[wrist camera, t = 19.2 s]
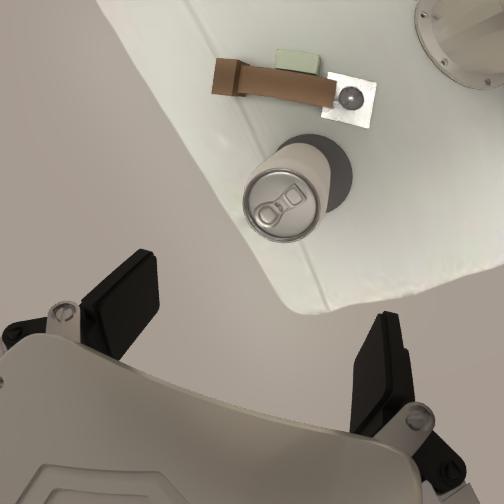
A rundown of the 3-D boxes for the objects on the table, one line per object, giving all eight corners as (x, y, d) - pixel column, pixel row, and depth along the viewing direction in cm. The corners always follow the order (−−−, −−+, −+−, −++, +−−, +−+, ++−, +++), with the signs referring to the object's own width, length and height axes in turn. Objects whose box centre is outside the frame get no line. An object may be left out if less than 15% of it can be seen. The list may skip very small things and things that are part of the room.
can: (259, 165, 32) (219, 198, 22) (305, 130, 29) (287, 142, 19) (295, 211, 33) (274, 263, 23) (342, 178, 30) (345, 218, 20)
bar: (331, 112, 27) (330, 113, 23) (227, 94, 29) (211, 93, 25) (337, 79, 25) (338, 75, 21) (231, 63, 27) (216, 58, 23)
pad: (359, 144, 29) (360, 145, 28) (341, 221, 33) (341, 223, 33) (276, 127, 30) (275, 127, 30) (265, 204, 35) (264, 205, 34)
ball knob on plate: (376, 83, 25) (384, 79, 20) (368, 128, 28) (374, 132, 23) (328, 72, 26) (327, 65, 21) (321, 117, 28) (318, 119, 24)
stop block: (320, 59, 25) (318, 54, 23) (317, 76, 26) (316, 73, 24) (282, 53, 26) (276, 49, 24) (279, 71, 27) (274, 67, 25)
